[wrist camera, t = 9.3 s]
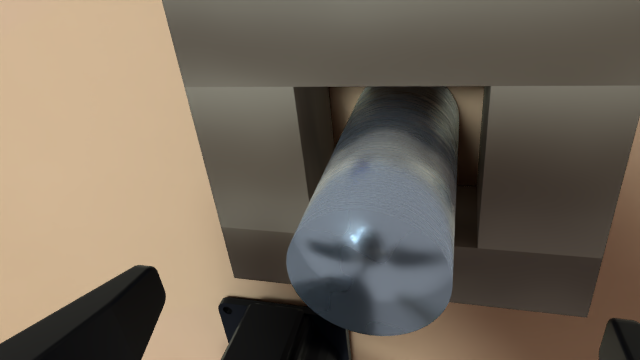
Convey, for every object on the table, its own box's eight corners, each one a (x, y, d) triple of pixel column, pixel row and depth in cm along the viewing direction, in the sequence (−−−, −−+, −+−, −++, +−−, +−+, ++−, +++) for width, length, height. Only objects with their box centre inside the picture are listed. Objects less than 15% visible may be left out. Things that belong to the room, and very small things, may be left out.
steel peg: (456, 166, 17) (449, 345, 11) (358, 162, 18) (297, 325, 12) (461, 68, 16) (456, 215, 9) (351, 70, 17) (274, 204, 10)
